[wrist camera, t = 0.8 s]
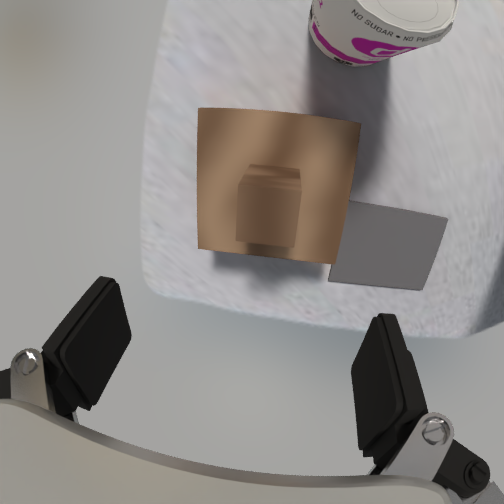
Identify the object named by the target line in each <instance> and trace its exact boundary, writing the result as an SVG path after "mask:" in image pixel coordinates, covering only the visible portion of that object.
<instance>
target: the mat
mask: <svg viewBox="0 0 504 504" xmlns="http://www.w3.org/2000/svg"><path fill="white" fill-rule="evenodd" d="M447 221H448V219H447V218H444V217H439V216H435V215H430V214H425V213H419V212H414V211H409V210H403V209H398V208H392V207H386V206H380V205H374V204H368V203H362V202H355V201H349V202H348V207H347V213H346V218H345V222H344V227H343V232H342V237H341V241H340V246H339V250H338V254H337V259H336V263H335V265H334V264H332V265H331V270H330V274H329V278H328V280H329V281H336V282H346V283H355V284H365V285H375V286H385V287H396V288H406V289H417V290H423V287H424V285H425V282H426V280H427V278H428V275H429V273H430V270H431V267H432V265H433V262H434V260H435V257H436V254H437V251H438V248H439V246H440V243H441V240H442V237H443V234H444V231H445V228H446V225H447Z"/></svg>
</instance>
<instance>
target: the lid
mask: <svg viewBox="0 0 504 504" xmlns="http://www.w3.org/2000/svg"><path fill="white" fill-rule="evenodd" d="M360 129H361V124H360V123H357V122H351V121H346V120H340V119H334V118H327V117H320V116H313V115H306V114H297V113H288V112H278V111H267V110H253V109H235V108H198V132H197V228H198V249H205V250H213V251H222V252H230V253H239V254H248V255H256V256H265V257H273V258H282V259H291V260H299V261H308V262H317V263H325V264H334V265H335V263H336V259H337V254H338V250H339V246H340V241H341V237H342V232H343V227H344V222H345V218H346V213H347V207H348V202H349V197H350V192H351V186H352V180H353V175H354V169H355V163H356V156H357V150H358V143H359V136H360Z"/></svg>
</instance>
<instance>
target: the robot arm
mask: <svg viewBox="0 0 504 504" xmlns="http://www.w3.org/2000/svg"><path fill="white" fill-rule="evenodd" d="M130 340H131V330H130V326H129V323H128V319H127V315H126V311H125V307H124V303H123V299H122V295H121V291H120V286H119V284H118V283H116V281H115V279H113V278H109V277H103V276H100V277H99V278H98V279H97V280H96V281H95V282H94V283H93V284H92V285H91V287H90V288H89V289H88V290H87V291H86V292H85V294H84V295H83V296H82V297H81V299H80V300H79V301H78V302H77V303H76V304H75V306H74V307H73V308H72V309H71V311H70V312H69V313H68V314H67V315H66V317H65V318H64V319H63V320H62V322H61V323H60V324H59V326H58V327H57V328H56V329H55V331H54V332H53V333H52V335H51V336H50V337H49V339H48V340H47V341H46V342H45V344H44V345H43V347H42V349H43V351H42V352H41V353H40V352H39V351H37V350H36V349H32V348H29V349H24V350H22V351H20V352H19V353H17V354H16V355H15V357H14V358H13V360H12V362H11V368H9V369H6V370H3V371H0V504H504V495H503V493H502V492H501V491H500V489H499V488H498V486H497V485H496V484H495V482H491V483H490V481H489V479H490V470H489V466H488V465H487V463H486V462H485V461H484V460H483V459H481V458H480V457H478V456H477V455H476V454H474V453H472V452H471V451H470V450H468V449H467V448H466V447H464V446H463V445H461V444H460V443H458V442H457V441H456V440H454V439H453V437H454V429H453V426H452V423H451V422H450V420H449V419H448V418H446V416H444V415H442V414H440V413H435V412H432V413H428V409H427V405H426V401H425V397H424V394H423V390H422V387H421V383H420V380H419V376H418V373H417V370H416V366H415V363H414V360H413V357H412V354H411V352H409V351H408V350H407V347H406V344H405V341H404V338H403V335H402V332H401V329H400V326H399V324H398V321H397V318H396V316H395V315H394V314H385V313H379V314H378V316H377V317H373V319H372V321H371V323H370V326H369V328H368V331H367V333H366V335H365V338H364V340H363V342H362V345H361V347H360V349H359V351H358V354H357V356H356V358H355V360H354V362H353V364H352V368H351V376H352V384H353V393H354V403H355V413H356V422H357V436H358V447H359V450H363V457H373V458H374V464H375V465H374V466H373V468H372V469H371V470H370V471H369V473H368V474H367V475H360V476H298V475H297V476H296V475H281V474H269V473H259V472H251V471H243V470H236V469H230V468H224V467H218V466H213V465H207V464H202V463H198V462H193V461H188V460H184V459H180V458H176V457H172V456H168V455H165V454H161V453H158V452H154V451H151V450H147V449H144V448H141V447H138V446H135V445H132V444H129V443H126V442H123V441H120V440H117V439H114V438H112V437H109V436H106V435H104V434H102V433H99V432H97V431H94V430H92V429H89V428H87V427H84V426H82V425H80V424H79V422H78V418H77V415H76V409H77V407H78V406H79V407H81V408H83V409H86V410H88V411H90V409H91V407H92V405H93V406H94V405H96V404H97V402H98V400H99V398H100V396H101V394H102V392H103V390H104V389H105V387H106V385H107V383H108V381H109V379H110V377H111V375H112V374H113V372H114V370H115V368H116V366H117V364H118V363H119V361H120V359H121V357H122V355H123V353H124V352H125V350H126V348H127V346H128V344H129V343H130Z"/></svg>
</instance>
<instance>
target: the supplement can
mask: <svg viewBox="0 0 504 504" xmlns="http://www.w3.org/2000/svg"><path fill="white" fill-rule="evenodd" d="M458 5H459V2H458V0H313V1H312V5H311V10H310V14H309V32H310V34H311V36H312V38H313V40H314V43H315V44H316V45H317V46H318V47H319V48H320V50H321V51H322V52H323V53H324V54H325V55H327V56H328V57H330V58H332V59H333V60H335V61H337V62H338V63H342V64H346V65H349V66H353V67H354V66H369V65H371V64H374V63H376V62H379V61H382V60H385V59H387V58H390V57H393V56H396V55H399V54H402V53H405V52H408V51H411V50H414V49H417V48H420V47H424V46H427V45H430V44H433V43H436V42H439V41H440V40H441V39H442V38H443V37H444V36H445V35H446V34H447V33H448V32H449V31H450V30H451V28H452V24H453V21H454V19H455V16H456V13H457V9H458Z"/></svg>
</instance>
